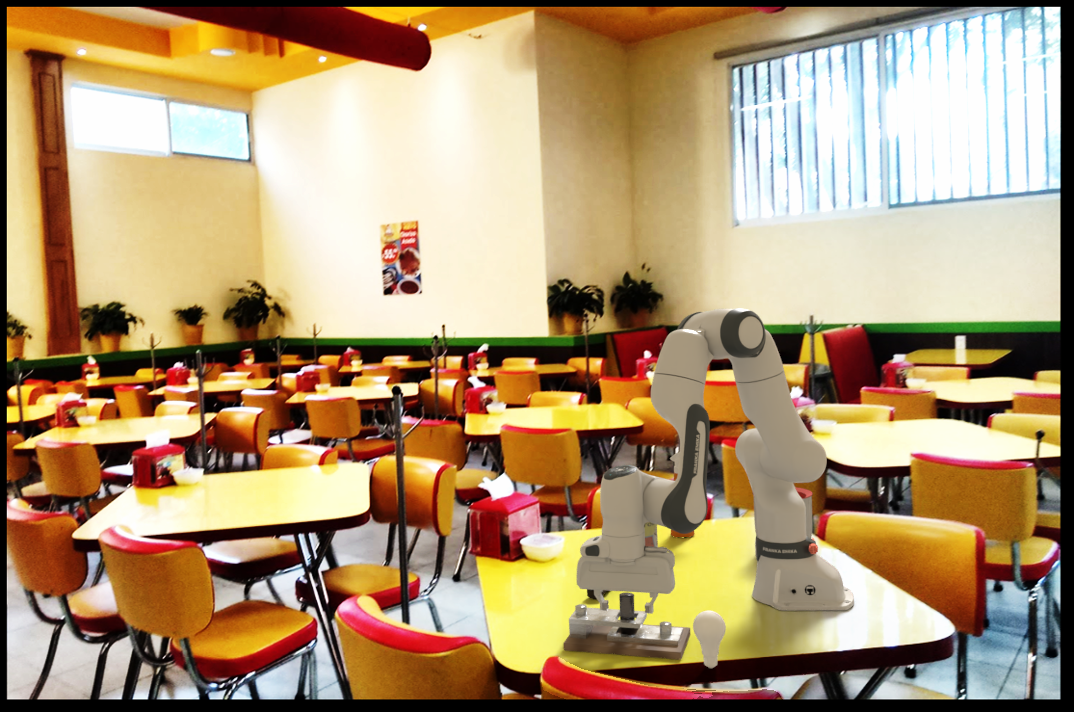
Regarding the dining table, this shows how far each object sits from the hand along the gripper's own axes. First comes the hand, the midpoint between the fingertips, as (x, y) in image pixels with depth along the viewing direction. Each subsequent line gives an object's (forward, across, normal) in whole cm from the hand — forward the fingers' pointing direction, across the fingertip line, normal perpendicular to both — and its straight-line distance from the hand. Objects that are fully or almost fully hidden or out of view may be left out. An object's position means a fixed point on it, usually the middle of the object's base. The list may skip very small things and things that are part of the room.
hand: (626, 611), depth 178 cm
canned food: (+7, +9, -56) cm, 57 cm away
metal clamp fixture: (+5, 0, 0) cm, 5 cm away
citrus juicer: (+7, -29, -66) cm, 72 cm away
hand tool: (+7, +12, -33) cm, 36 cm away
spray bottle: (+7, -1, -81) cm, 81 cm away
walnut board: (+7, 0, 0) cm, 7 cm away
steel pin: (+5, 0, 0) cm, 5 cm away
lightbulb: (+7, -18, +9) cm, 21 cm away
